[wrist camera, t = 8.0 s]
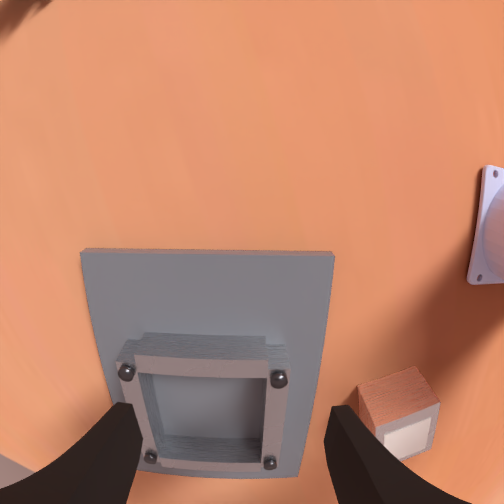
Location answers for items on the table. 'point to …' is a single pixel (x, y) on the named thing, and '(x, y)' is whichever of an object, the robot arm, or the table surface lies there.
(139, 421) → the tray
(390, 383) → the small brown box
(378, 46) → the table surface
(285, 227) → the table surface
